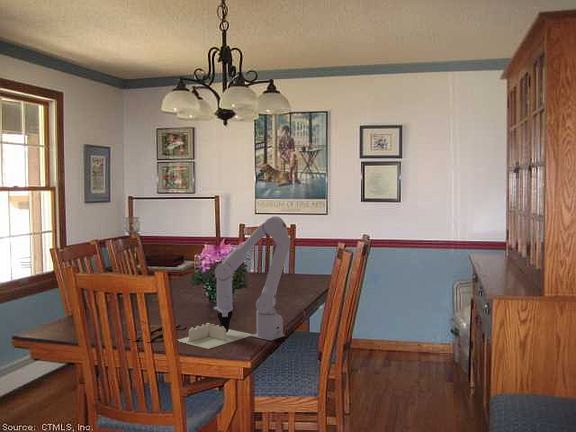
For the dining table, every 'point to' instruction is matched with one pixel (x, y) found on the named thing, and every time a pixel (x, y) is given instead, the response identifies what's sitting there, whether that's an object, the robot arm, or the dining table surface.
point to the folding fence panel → (217, 332)
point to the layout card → (216, 339)
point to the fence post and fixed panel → (199, 332)
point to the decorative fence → (159, 332)
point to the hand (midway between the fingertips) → (225, 331)
